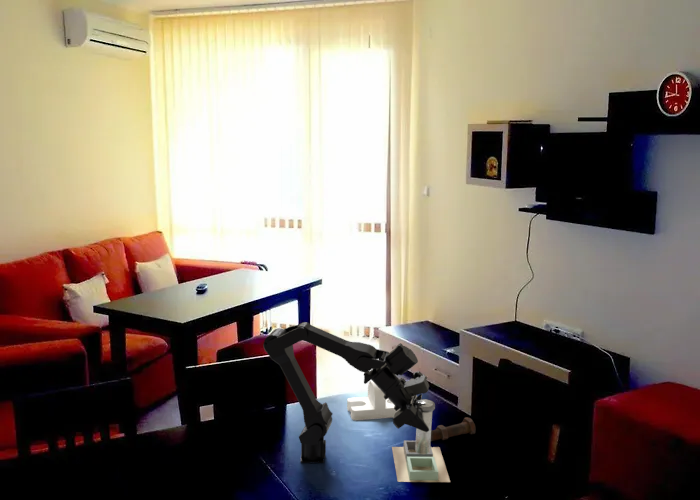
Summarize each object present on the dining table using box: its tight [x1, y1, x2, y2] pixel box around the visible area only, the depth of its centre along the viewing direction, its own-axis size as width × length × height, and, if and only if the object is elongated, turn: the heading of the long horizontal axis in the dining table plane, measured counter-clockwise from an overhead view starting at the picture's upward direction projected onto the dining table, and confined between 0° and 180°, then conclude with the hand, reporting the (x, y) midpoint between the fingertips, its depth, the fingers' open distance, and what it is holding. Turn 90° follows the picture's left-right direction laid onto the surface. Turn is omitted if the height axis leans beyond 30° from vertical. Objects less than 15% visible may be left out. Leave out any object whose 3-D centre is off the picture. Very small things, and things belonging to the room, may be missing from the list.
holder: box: [402, 439, 433, 462], centre depth 180 cm, size 7×7×2 cm
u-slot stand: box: [346, 380, 400, 421], centre depth 207 cm, size 10×18×11 cm, turn 102°
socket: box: [406, 457, 438, 480], centre depth 171 cm, size 8×8×2 cm
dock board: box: [391, 446, 451, 483], centre depth 176 cm, size 14×18×1 cm
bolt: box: [431, 416, 476, 442], centre depth 192 cm, size 6×5×15 cm
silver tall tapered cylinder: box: [415, 398, 436, 454], centre depth 171 cm, size 5×5×14 cm
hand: (428, 427), depth 170 cm, fingers closed on silver tall tapered cylinder, 4 cm apart
